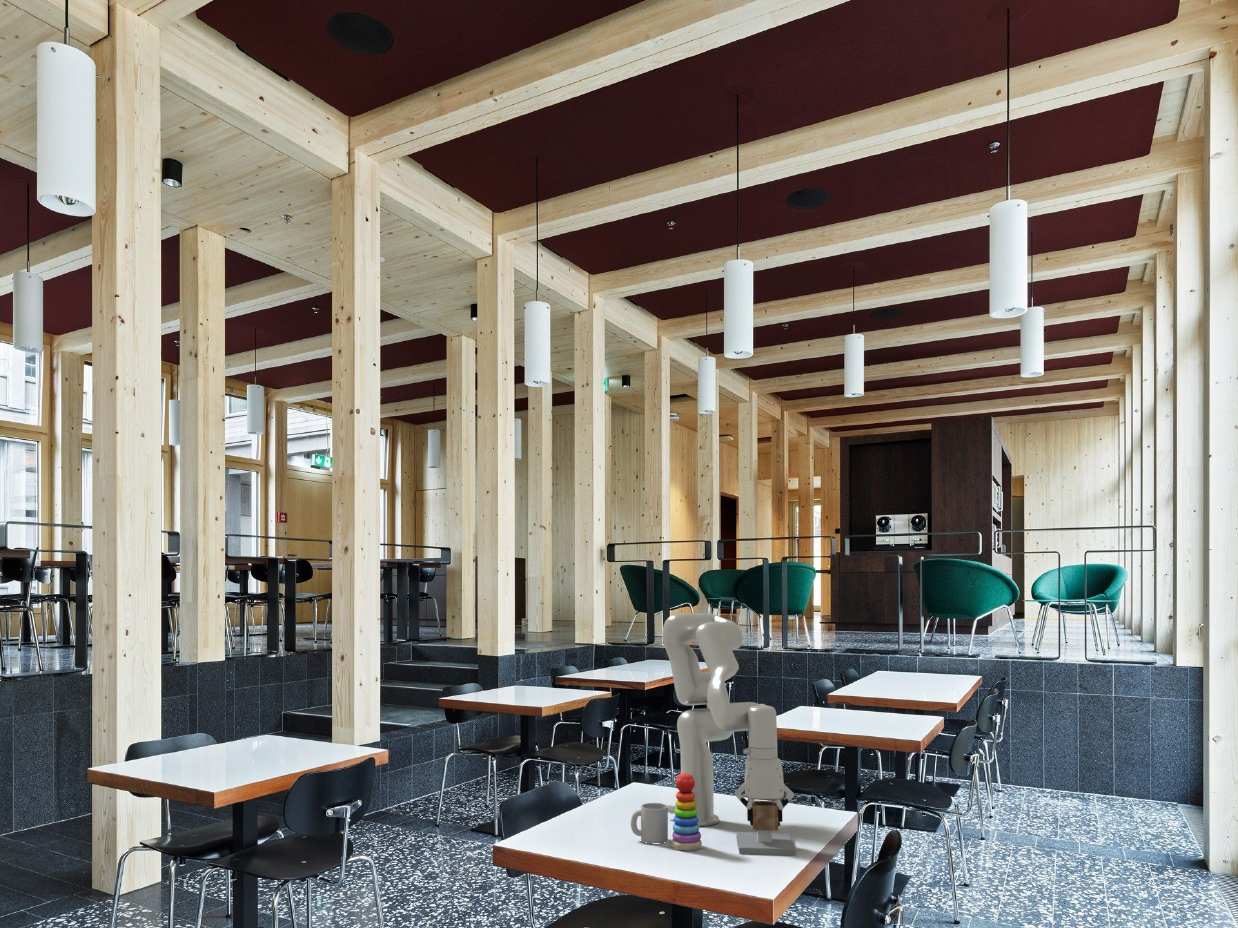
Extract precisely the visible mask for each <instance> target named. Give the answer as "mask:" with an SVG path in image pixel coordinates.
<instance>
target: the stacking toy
mask: <svg viewBox="0 0 1238 928" xmlns="http://www.w3.org/2000/svg"><path fill="white" fill-rule="evenodd" d="M675 786H676V788H677V790H678V791H677V793H676V794H675V798H676V801H675V806H676V807H677V808H675V811H674V817H673V822H674V823H673V824H672V831H673V832H672V839H671V847H672V848H674V849H675V848H676V849H675V850H678V849H679V850H678V851H683V850H691V851H696V850H699V849H701V847H702V846H703V845H702V844H703V843H702V840H701V838H702V833H701V832H700V831H699V830H700V826H699V825H698V824H697V823H698V817H697V816H696V815H697V809H696V808H695V807H696V805H697V804H696V801H695V800H694V798H695V794H694V793H693V792H692V790H693V788H694V786H695V780H694V778H693V776H692V775H691V774H689V773H681V772H680V774H678V775H677V776H676V779H675Z"/></svg>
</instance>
